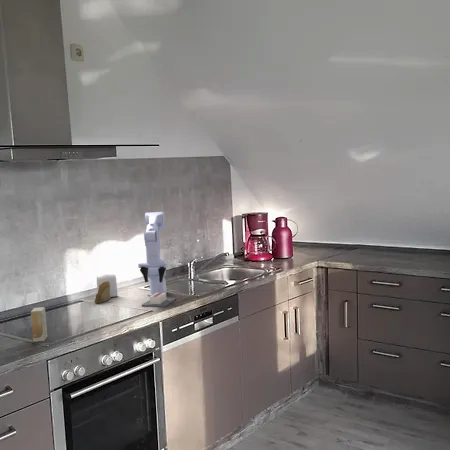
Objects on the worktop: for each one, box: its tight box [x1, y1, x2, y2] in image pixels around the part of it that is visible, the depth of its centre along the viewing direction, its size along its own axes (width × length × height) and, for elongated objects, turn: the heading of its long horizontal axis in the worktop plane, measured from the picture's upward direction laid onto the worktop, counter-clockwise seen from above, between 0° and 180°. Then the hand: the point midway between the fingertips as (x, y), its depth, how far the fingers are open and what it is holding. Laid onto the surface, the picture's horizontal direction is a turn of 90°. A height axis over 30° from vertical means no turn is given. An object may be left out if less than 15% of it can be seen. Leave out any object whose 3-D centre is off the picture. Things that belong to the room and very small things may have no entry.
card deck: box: [149, 292, 167, 304], centre depth 276 cm, size 5×9×4 cm, turn 166°
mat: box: [141, 297, 176, 308], centre depth 276 cm, size 14×12×1 cm
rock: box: [93, 281, 111, 304], centre depth 287 cm, size 11×9×10 cm
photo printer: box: [96, 273, 118, 298], centre depth 294 cm, size 10×4×12 cm, turn 118°
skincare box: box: [30, 306, 48, 343], centre depth 223 cm, size 6×4×12 cm
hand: (153, 282), depth 281 cm, fingers open, 7 cm apart
